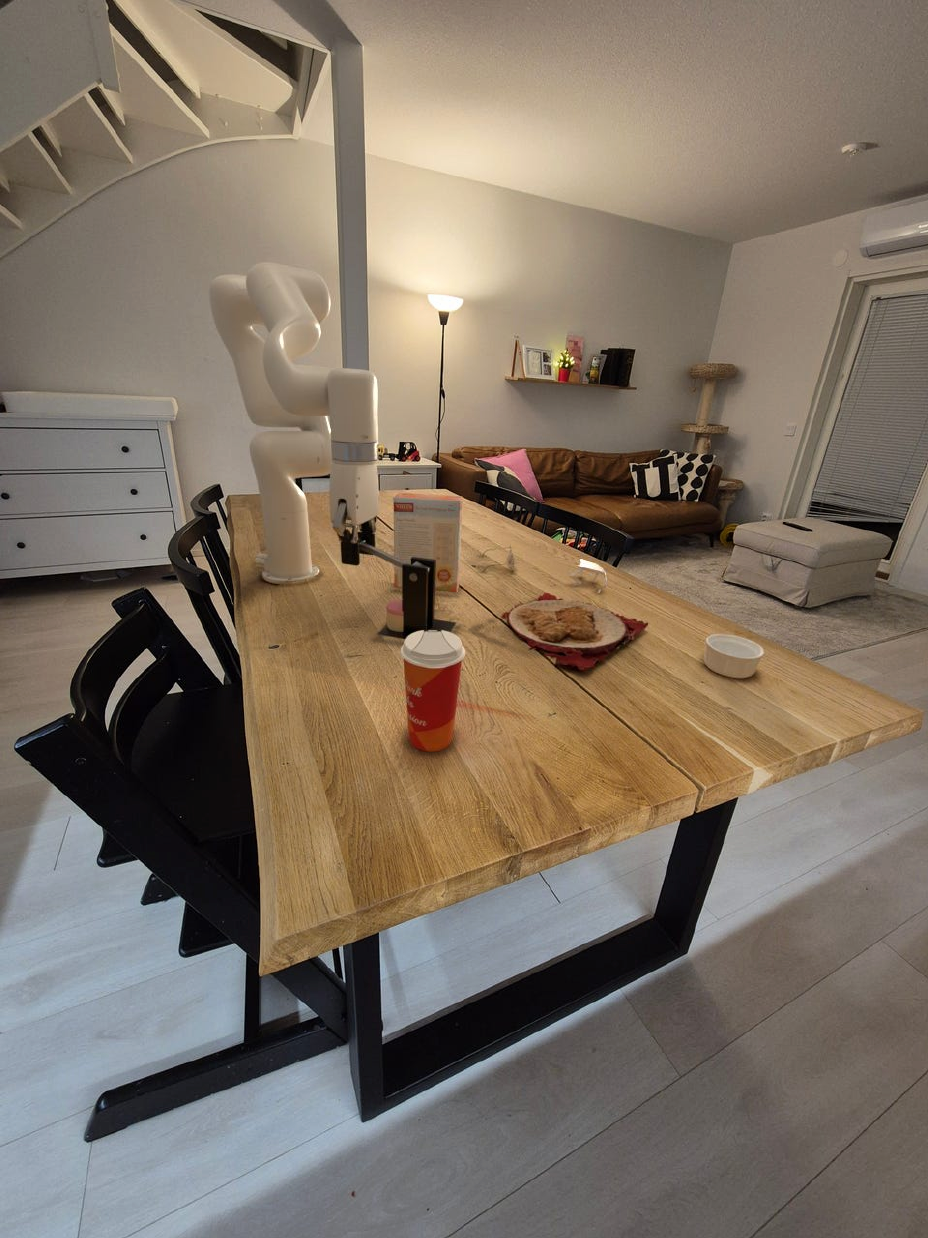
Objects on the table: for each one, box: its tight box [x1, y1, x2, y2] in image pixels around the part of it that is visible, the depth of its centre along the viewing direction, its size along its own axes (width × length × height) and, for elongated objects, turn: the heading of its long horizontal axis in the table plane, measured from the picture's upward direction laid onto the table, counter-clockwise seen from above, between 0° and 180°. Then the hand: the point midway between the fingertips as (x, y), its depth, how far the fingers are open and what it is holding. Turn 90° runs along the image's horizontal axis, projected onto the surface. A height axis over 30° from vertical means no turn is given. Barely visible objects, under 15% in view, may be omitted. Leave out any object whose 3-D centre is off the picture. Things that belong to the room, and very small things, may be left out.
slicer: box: [377, 557, 458, 640], centre depth 89 cm, size 12×10×14 cm
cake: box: [385, 599, 403, 632], centre depth 92 cm, size 6×6×4 cm
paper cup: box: [400, 630, 466, 753], centre depth 62 cm, size 8×8×14 cm
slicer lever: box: [356, 536, 430, 573], centre depth 88 cm, size 14×6×2 cm, turn 75°
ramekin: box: [703, 633, 765, 679], centre depth 85 cm, size 9×9×4 cm
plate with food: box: [492, 592, 650, 671], centre depth 96 cm, size 24×26×4 cm
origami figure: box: [568, 559, 608, 594], centre depth 119 cm, size 12×8×5 cm
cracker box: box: [392, 492, 463, 593], centre depth 109 cm, size 14×6×21 cm, turn 84°
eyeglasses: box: [481, 545, 516, 573], centre depth 131 cm, size 14×8×4 cm, turn 179°
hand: (359, 557), depth 89 cm, fingers closed on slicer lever, 5 cm apart
